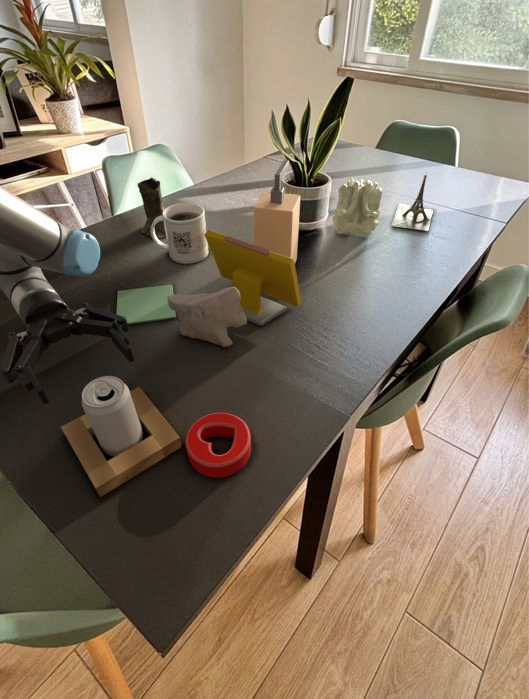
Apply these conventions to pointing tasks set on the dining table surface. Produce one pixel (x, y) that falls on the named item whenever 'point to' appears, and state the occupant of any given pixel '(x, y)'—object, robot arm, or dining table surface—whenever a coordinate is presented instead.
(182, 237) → the mug
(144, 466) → the can stand
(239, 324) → the sculpture
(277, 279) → the yellow framed monitor
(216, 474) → the decorative ornament
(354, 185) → the wavy plaster lump
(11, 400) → the dining table surface
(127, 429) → the beverage can
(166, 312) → the mat
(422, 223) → the eiffel tower figurine
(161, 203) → the tree stump
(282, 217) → the soap dispenser
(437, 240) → the dining table surface
